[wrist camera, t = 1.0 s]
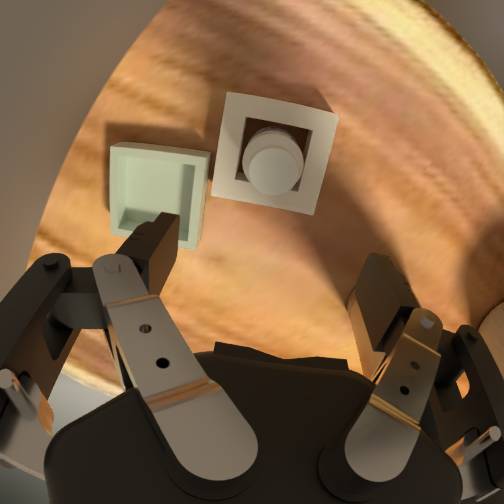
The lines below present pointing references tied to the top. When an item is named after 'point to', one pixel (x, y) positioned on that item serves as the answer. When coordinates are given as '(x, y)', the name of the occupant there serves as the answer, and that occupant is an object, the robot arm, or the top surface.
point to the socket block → (279, 111)
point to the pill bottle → (273, 161)
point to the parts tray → (158, 187)
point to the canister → (495, 334)
